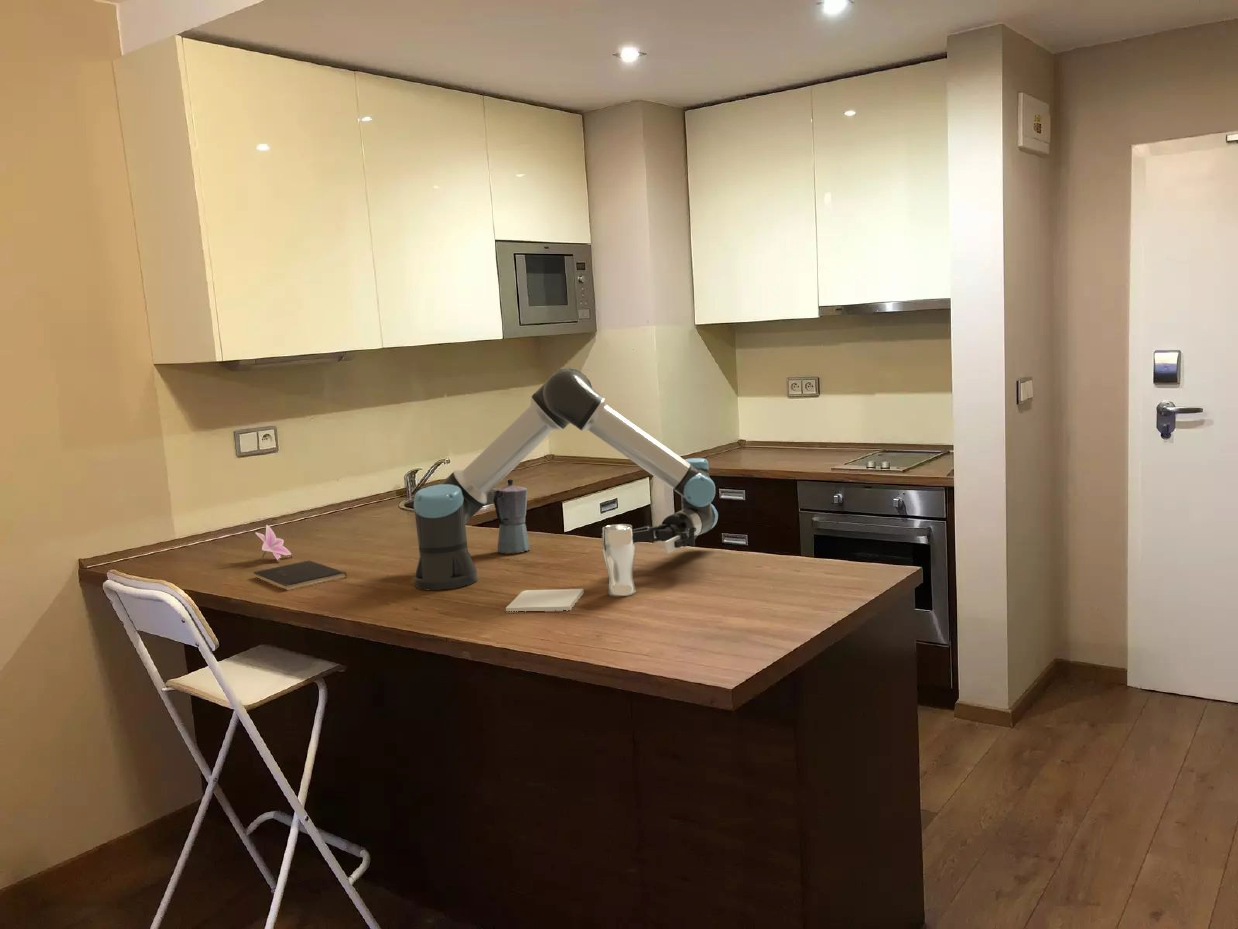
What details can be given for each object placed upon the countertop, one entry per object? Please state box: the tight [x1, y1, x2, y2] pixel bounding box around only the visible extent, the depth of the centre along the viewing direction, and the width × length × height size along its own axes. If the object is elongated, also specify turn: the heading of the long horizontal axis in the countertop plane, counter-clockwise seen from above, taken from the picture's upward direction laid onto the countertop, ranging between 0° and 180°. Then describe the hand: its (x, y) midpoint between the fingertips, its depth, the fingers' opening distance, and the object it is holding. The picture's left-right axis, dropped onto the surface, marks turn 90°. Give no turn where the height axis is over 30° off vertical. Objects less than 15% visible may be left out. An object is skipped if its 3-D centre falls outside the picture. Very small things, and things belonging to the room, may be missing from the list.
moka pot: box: [493, 479, 531, 555], centre depth 269 cm, size 10×15×20 cm, turn 161°
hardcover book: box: [253, 559, 348, 589], centre depth 258 cm, size 16×23×2 cm
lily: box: [255, 524, 292, 561], centre depth 283 cm, size 12×12×10 cm
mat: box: [505, 588, 585, 613], centre depth 215 cm, size 14×14×1 cm
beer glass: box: [601, 523, 637, 598], centre depth 217 cm, size 7×7×15 cm
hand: (639, 546), depth 225 cm, fingers open, 13 cm apart
